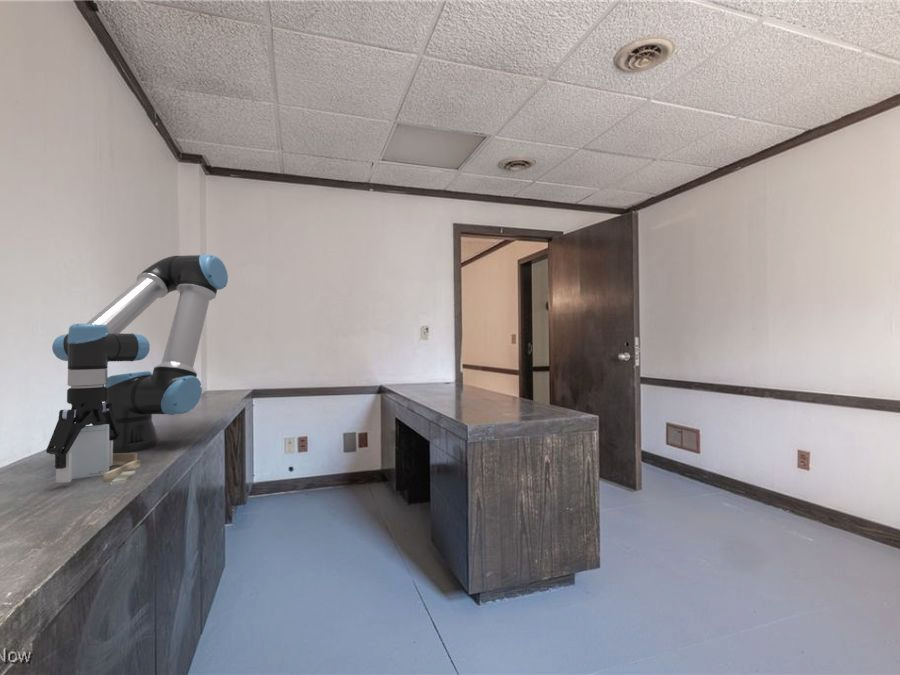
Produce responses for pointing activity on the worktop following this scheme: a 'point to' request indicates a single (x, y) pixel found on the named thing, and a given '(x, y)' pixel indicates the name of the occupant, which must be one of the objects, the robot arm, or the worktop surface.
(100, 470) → the hard drive
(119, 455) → the birch rack
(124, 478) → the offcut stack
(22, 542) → the worktop surface
